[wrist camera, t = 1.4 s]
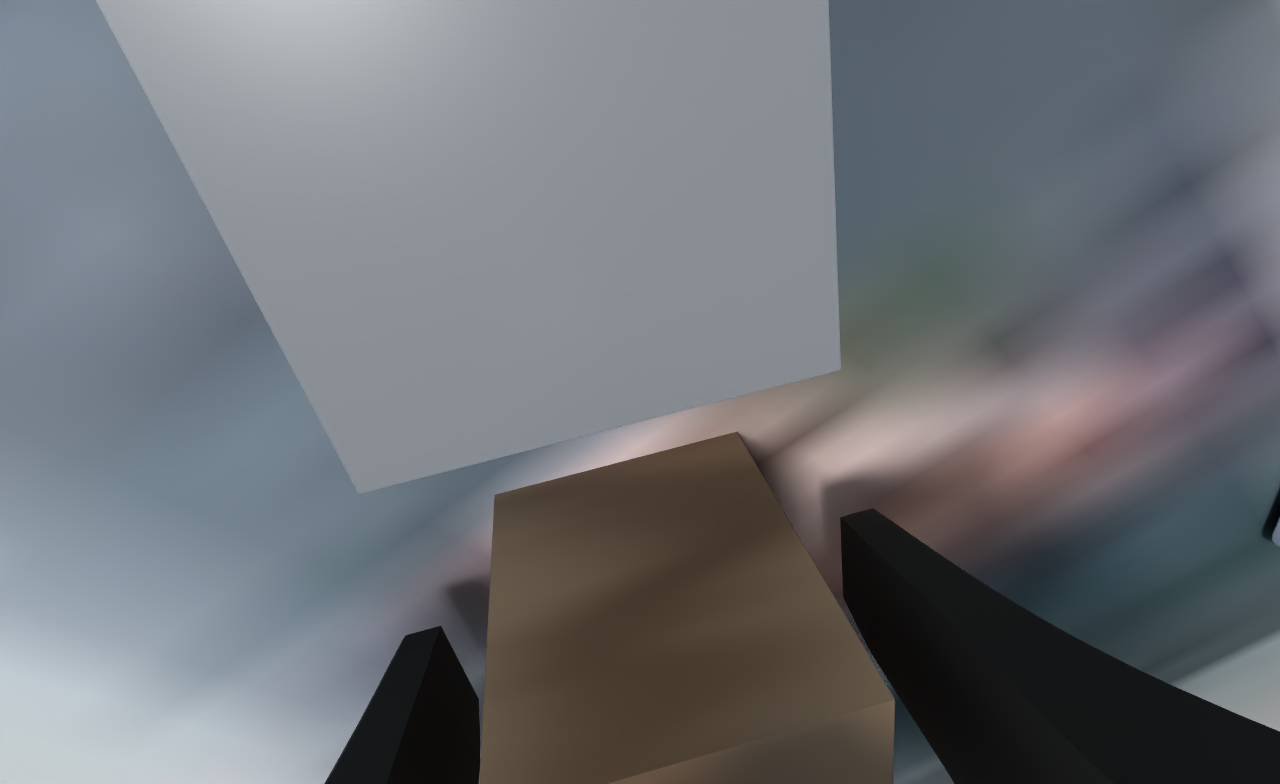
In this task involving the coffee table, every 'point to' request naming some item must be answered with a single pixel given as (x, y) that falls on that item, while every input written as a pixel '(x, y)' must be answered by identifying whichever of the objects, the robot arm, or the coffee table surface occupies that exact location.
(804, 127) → the grey cube
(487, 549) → the coffee table surface
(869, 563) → the robot arm
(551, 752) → the walnut block
